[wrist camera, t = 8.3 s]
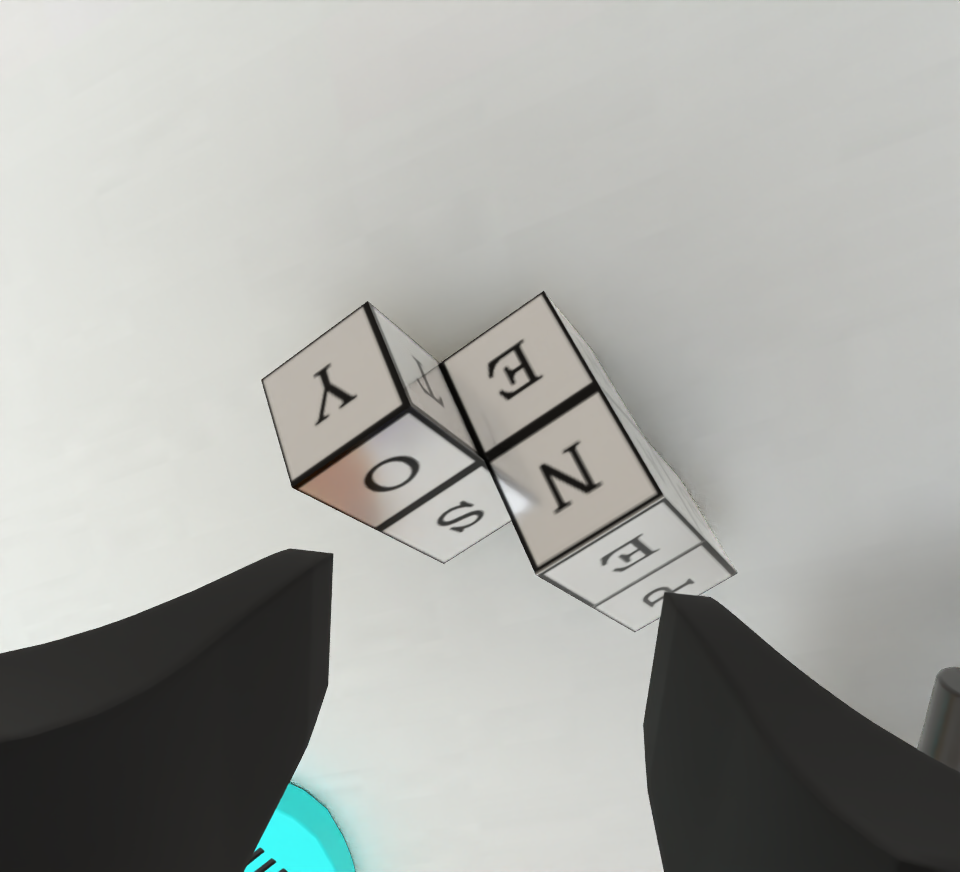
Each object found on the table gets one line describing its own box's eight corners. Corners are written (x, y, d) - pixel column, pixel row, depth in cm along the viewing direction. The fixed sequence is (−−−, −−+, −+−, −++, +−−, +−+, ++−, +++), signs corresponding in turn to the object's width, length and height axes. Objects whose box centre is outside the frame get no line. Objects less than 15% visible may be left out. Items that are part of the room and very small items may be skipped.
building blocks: (630, 396, 22) (482, 216, 16) (737, 572, 19) (609, 439, 13) (461, 505, 23) (261, 379, 17) (537, 687, 20) (329, 618, 14)
